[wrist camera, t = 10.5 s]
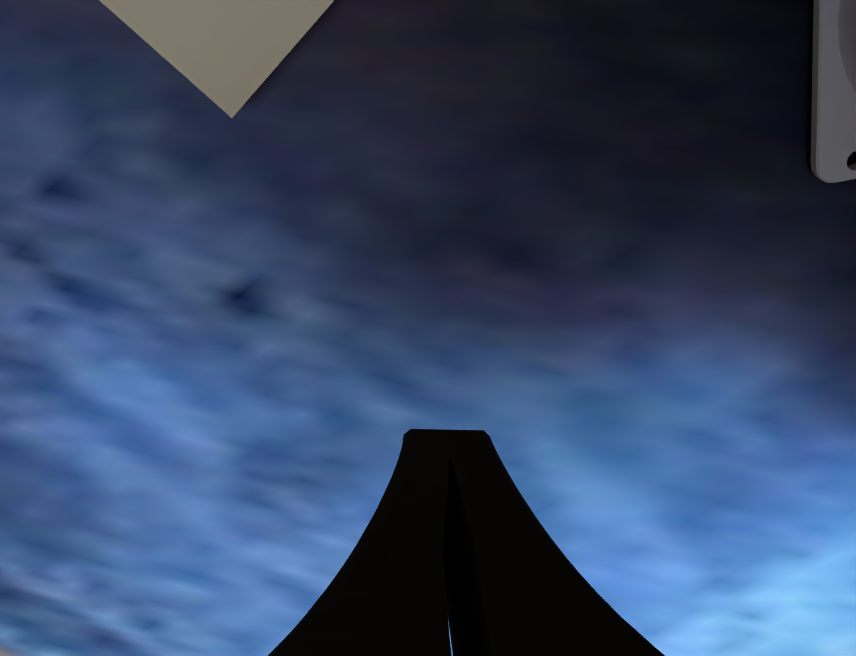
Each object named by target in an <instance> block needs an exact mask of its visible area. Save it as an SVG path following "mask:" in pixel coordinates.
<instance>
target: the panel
mask: <svg viewBox="0 0 856 656" xmlns="http://www.w3.org/2000/svg"><path fill="white" fill-rule="evenodd" d="M100 1H101V2H102V3H103V4H104V5H105V6H106V7H107V8H109V9H110V10H111V11H112V12H113V13H114V14H115V15H116V16H118V17H119V18H120V19H121V20H122V21H123V22H124V23H125V24H127V25H128V26H129V27H130V28H131V29H132V30H133V31H134V32H136V33H137V34H138V35H139V36H140V37H141V38H142V39H143V40H145V41H146V42H147V43H148V44H149V45H150V46H151V47H152V48H154V49H155V50H156V51H157V52H158V53H159V54H160V55H161V56H163V57H164V58H165V59H166V60H167V61H168V62H169V63H170V64H172V65H173V66H174V67H175V68H176V69H177V70H178V71H179V72H181V73H182V74H183V75H184V76H185V77H186V78H187V79H188V80H190V81H191V82H192V83H193V84H194V85H195V86H196V87H197V88H199V89H200V90H201V91H202V92H203V93H204V94H205V95H206V96H208V97H209V98H210V99H211V100H212V101H213V102H214V103H215V104H217V105H218V106H219V107H220V108H221V109H222V110H223V111H224V112H226V113H227V114H228V115H229V116H230V117H231V118H233V116H234V115H235V114H236V113H237V112H238V111H239V109H240V108H241V107H242V106H243V105H244V104H245V103H246V101H247V100H248V99H249V98H250V97H251V96H252V94H253V93H254V92H255V91H256V90H257V89H258V88H259V86H260V85H261V84H262V83H263V82H264V81H265V80H266V78H267V77H268V76H269V75H270V74H271V73H272V71H273V70H274V69H275V68H276V67H277V66H278V65H279V63H280V62H281V61H282V60H283V59H284V58H285V57H286V55H287V54H288V53H289V52H290V51H291V50H292V48H293V47H294V46H295V45H296V44H297V43H298V42H299V40H300V39H301V38H302V37H303V36H304V35H305V33H306V32H307V31H308V30H309V29H310V28H311V27H312V25H313V24H314V23H315V22H316V21H317V20H318V19H319V17H320V16H321V15H322V14H323V13H324V12H325V10H326V9H327V8H328V7H329V6H330V5H331V4H332V2H333V1H334V0H100Z"/></svg>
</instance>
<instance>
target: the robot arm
mask: <svg viewBox="0 0 856 656" xmlns="http://www.w3.org/2000/svg"><path fill="white" fill-rule="evenodd" d="M855 151H856V0H814V12H813V66H812V119H811V169H812V172H813V173H814V174H815V176H816V177H818V178H819V179H821V180H822V181H825V182H827V183H836V182H841V181H846V180H851V179H856V163H855V164H852V165H850V166H847V163H846V162H847V159H848V157H849V156H850V155H851V153H852V152H855ZM448 621H449V625H448ZM449 628H450V636H451V644H452V651H453V656H665V655H664V654H662V653H661V652H660V651H659V650H658V649H656V648H655V647H654V646H653V645H652V644H651V643H650V642H649V641H647V640H646V639H645V638H644V637H643V636H642V635H641V634H640V633H638V632H637V631H636V630H635V629H634V628H633V627H632V626H631V625H630V624H628V623H627V622H626V621H625V620H624V619H623V618H622V617H621V616H620V615H618V613H617V612H616V611H615V610H614V609H613V608H612V607H611V606H610V605H609V604H608V603H607V602H606V601H605V600H604V599H603V598H602V597H601V596H600V595H599V594H598V593H597V592H596V591H595V590H594V589H593V588H592V587H591V585H590V584H589V583H588V582H587V581H586V580H585V579H584V578H583V577H582V576H581V574H580V573H579V572H578V571H577V570H576V569H575V567H574V566H573V565H572V564H571V563H570V561H569V560H568V559H567V558H566V557H565V555H564V554H563V553H562V552H561V550H560V549H559V548H558V546H557V545H556V544H555V542H554V541H553V540H552V539H551V537H550V536H549V535H548V533H547V532H546V531H545V529H544V528H543V526H542V525H541V524H540V522H539V521H538V519H537V518H536V516H535V515H534V513H533V512H532V510H531V509H530V507H529V506H528V504H527V503H526V501H525V500H524V498H523V497H522V495H521V494H520V492H519V491H518V489H517V487H516V486H515V484H514V482H513V481H512V479H511V477H510V476H509V474H508V472H507V470H506V469H505V467H504V465H503V463H502V461H501V459H500V457H499V455H498V453H497V452H496V449H495V447H494V445H493V443H492V441H491V438H490V436H489V435H488V434H487V433H486V432H485V431H484V430H435V429H410V430H409V431H408V432H406V433H405V434H404V437H403V444H402V448H401V452H400V455H399V459H398V462H397V464H396V467H395V470H394V472H393V475H392V477H391V480H390V482H389V484H388V486H387V488H386V491H385V493H384V495H383V497H382V499H381V501H380V503H379V505H378V508H377V510H376V511H375V513H374V515H373V517H372V519H371V520H370V522H369V524H368V526H367V527H366V529H365V531H364V533H363V534H362V536H361V538H360V540H359V541H358V543H357V545H356V546H355V548H354V550H353V551H352V553H351V554H350V556H349V557H348V559H347V561H346V562H345V563H344V565H343V566H342V568H341V569H340V571H339V572H338V574H337V575H336V576H335V578H334V579H333V581H332V582H331V583H330V585H329V586H328V587H327V589H326V590H325V591H324V593H323V594H322V595H321V596H320V598H319V599H318V600H317V601H316V603H315V604H314V605H313V606H312V608H311V609H310V610H309V611H308V613H307V614H306V615H305V616H304V617H303V619H302V620H301V621H300V622H299V623H298V624H297V626H296V627H295V628H294V629H293V630H292V631H291V632H290V633H289V634H288V635H287V636H286V638H285V639H284V640H283V641H282V642H281V643H280V644H279V645H278V646H277V647H276V648H275V649H274V650H273V651H272V652H271V653H270V654H269V655H268V656H451V647H450V637H449Z"/></svg>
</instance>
